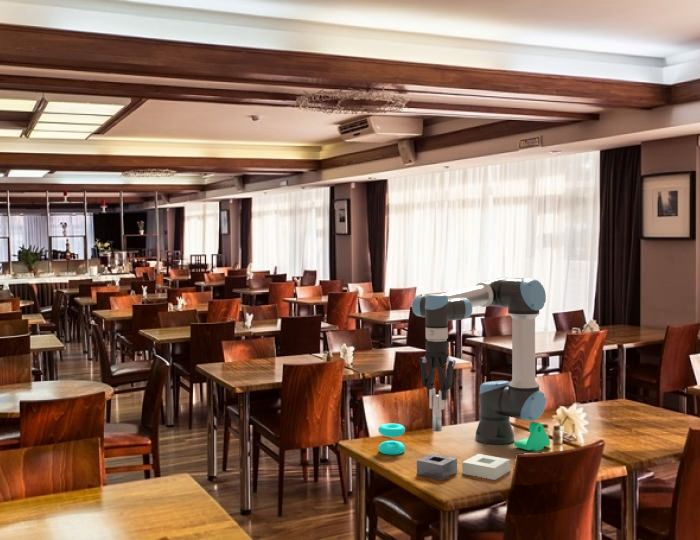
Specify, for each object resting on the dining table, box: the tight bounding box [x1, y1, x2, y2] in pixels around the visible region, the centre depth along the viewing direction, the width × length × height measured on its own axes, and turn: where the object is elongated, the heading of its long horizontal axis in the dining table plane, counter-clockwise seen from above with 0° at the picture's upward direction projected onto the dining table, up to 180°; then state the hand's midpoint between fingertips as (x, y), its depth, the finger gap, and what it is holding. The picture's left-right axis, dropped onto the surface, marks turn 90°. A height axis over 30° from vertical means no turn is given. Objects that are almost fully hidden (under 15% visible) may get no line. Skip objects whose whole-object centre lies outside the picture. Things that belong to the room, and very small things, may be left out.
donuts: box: [378, 422, 406, 456], centre depth 281 cm, size 10×10×10 cm
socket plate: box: [461, 453, 511, 481], centre depth 255 cm, size 12×12×4 cm
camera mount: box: [513, 421, 551, 452], centre depth 285 cm, size 12×8×10 cm, turn 125°
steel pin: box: [432, 394, 443, 432], centre depth 254 cm, size 3×3×12 cm
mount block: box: [416, 452, 458, 481], centre depth 254 cm, size 10×10×5 cm
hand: (437, 408), depth 254 cm, fingers closed on steel pin, 3 cm apart
